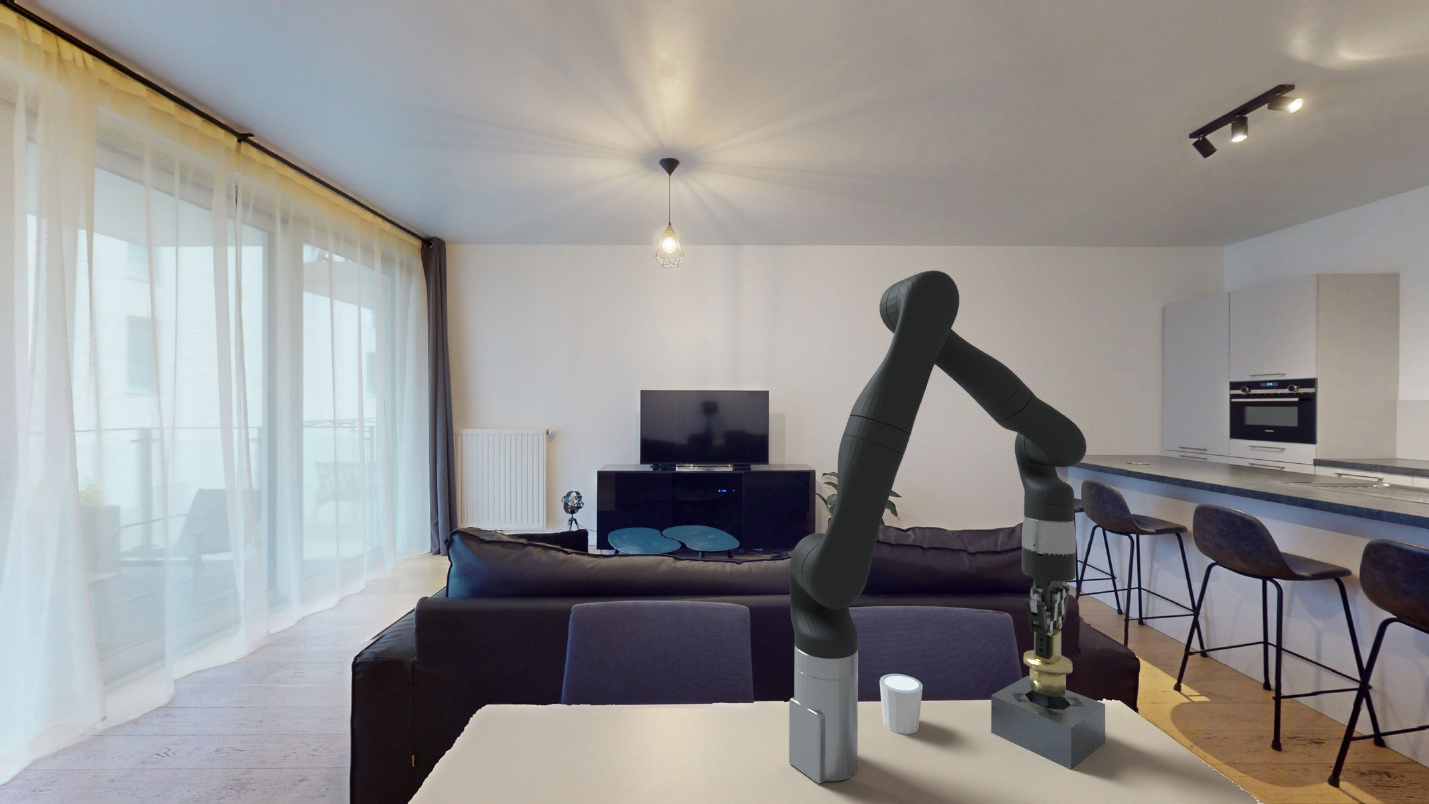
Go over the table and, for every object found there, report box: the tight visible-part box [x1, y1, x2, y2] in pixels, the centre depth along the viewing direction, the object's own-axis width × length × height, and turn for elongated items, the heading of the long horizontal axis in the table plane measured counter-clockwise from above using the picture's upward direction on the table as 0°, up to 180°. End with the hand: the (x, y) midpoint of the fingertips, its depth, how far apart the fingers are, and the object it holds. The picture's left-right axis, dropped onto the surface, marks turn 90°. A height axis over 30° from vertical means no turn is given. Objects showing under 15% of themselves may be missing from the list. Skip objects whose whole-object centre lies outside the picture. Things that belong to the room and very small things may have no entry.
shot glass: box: [879, 673, 924, 735], centre depth 98 cm, size 7×7×7 cm
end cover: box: [1023, 629, 1073, 697], centre depth 94 cm, size 7×7×9 cm
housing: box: [990, 675, 1106, 770], centre depth 94 cm, size 12×12×6 cm
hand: (1047, 653), depth 94 cm, fingers closed on end cover, 3 cm apart
